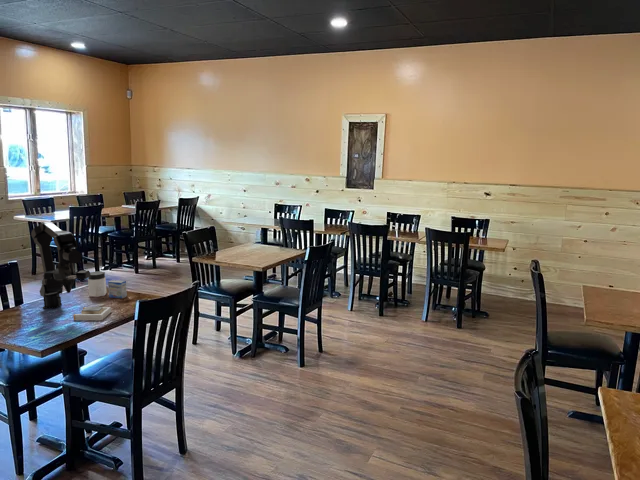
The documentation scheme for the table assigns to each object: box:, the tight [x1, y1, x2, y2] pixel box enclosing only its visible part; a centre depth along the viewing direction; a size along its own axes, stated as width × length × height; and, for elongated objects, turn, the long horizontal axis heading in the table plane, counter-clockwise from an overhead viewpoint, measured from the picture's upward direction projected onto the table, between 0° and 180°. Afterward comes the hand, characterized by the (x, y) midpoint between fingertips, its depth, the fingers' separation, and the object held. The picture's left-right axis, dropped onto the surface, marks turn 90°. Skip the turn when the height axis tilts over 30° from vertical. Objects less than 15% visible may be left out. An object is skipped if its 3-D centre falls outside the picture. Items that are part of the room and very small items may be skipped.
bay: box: [73, 306, 112, 321], centre depth 219 cm, size 12×11×2 cm
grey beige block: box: [80, 306, 104, 314], centre depth 218 cm, size 8×5×4 cm, turn 94°
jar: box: [87, 270, 107, 298], centre depth 251 cm, size 9×8×12 cm
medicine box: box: [107, 279, 128, 299], centre depth 248 cm, size 8×4×9 cm, turn 81°
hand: (68, 292), depth 216 cm, fingers closed
